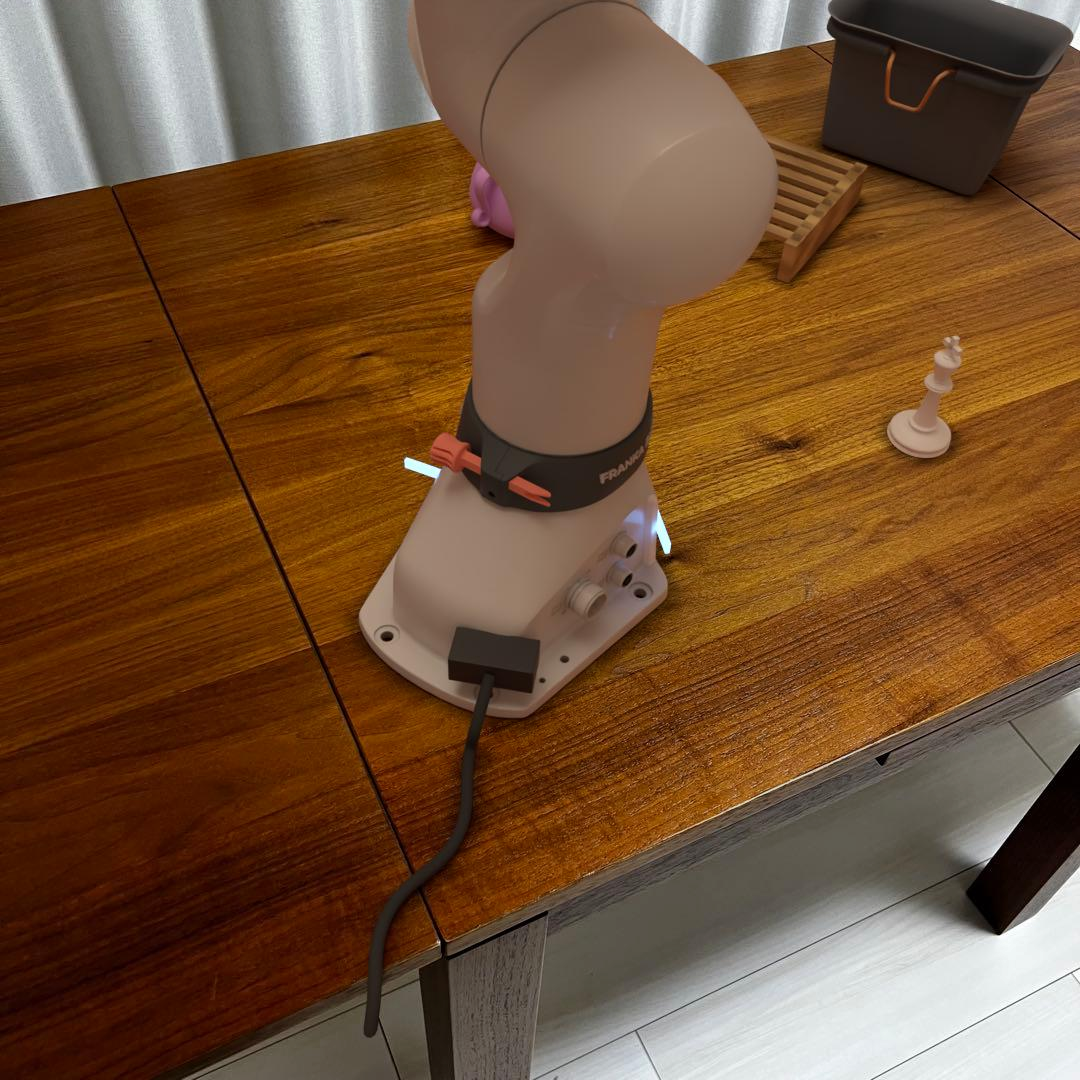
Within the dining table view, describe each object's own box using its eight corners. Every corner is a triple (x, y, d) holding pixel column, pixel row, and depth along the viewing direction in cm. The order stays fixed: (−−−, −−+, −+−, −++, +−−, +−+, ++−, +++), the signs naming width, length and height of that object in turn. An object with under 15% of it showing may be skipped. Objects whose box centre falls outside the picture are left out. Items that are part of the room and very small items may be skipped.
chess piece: (911, 465, 92) (950, 366, 85) (874, 425, 95) (908, 326, 88) (962, 448, 94) (1004, 349, 86) (924, 408, 97) (961, 309, 89)
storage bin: (1031, 159, 122) (1084, 22, 111) (983, 231, 113) (1036, 90, 103) (838, 97, 129) (870, -38, 118) (779, 161, 120) (808, 22, 110)
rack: (788, 284, 107) (797, 246, 104) (652, 230, 112) (657, 193, 109) (858, 202, 116) (868, 165, 113) (730, 155, 121) (736, 119, 118)
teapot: (437, 224, 111) (433, 132, 104) (553, 167, 118) (557, 77, 111) (512, 276, 106) (514, 183, 99) (628, 213, 113) (638, 123, 106)
